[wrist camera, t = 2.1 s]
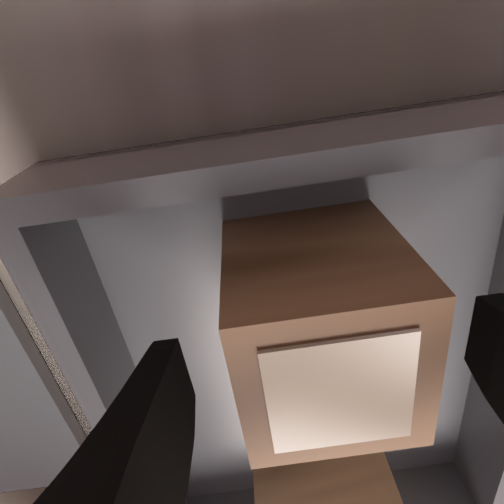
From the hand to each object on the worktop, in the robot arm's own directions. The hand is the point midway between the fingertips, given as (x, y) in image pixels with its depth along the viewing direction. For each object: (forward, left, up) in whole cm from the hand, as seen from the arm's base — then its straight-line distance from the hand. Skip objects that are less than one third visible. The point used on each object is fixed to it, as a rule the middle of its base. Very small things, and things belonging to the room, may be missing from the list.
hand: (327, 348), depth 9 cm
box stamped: (0, 0, -4) cm, 4 cm away
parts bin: (-4, 0, -4) cm, 6 cm away
